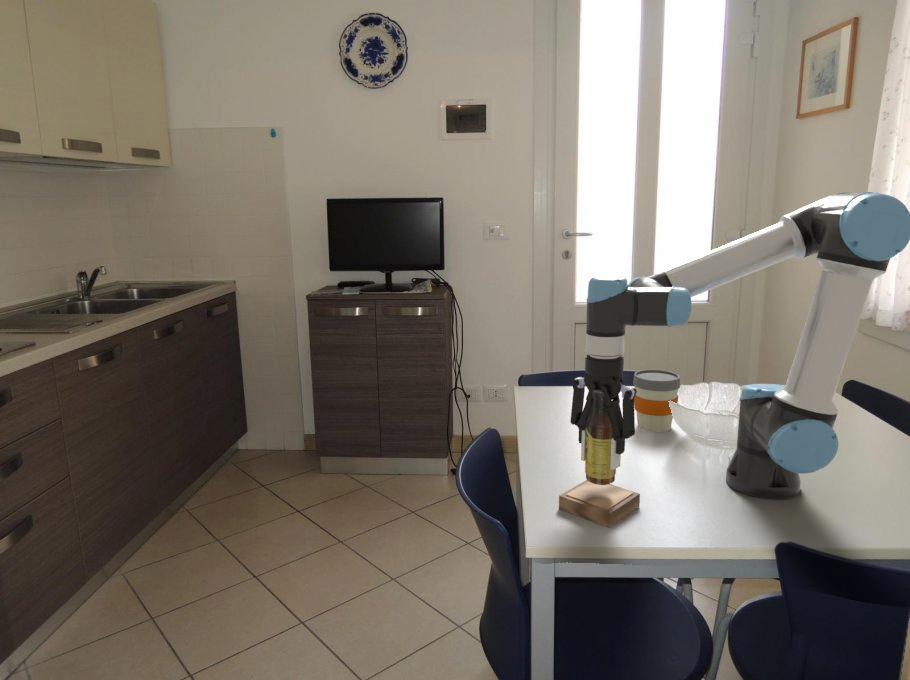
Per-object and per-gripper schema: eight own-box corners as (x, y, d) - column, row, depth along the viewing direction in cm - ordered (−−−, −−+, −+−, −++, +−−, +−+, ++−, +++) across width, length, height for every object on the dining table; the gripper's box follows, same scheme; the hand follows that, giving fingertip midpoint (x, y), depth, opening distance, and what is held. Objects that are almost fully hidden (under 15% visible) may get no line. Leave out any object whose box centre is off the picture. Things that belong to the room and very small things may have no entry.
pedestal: (639, 506, 140) (640, 492, 140) (609, 527, 132) (609, 512, 131) (590, 490, 148) (590, 476, 148) (558, 508, 140) (559, 494, 139)
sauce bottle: (593, 471, 143) (596, 382, 139) (620, 479, 139) (624, 387, 135) (578, 481, 138) (581, 389, 134) (606, 489, 134) (609, 395, 130)
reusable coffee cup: (687, 429, 185) (690, 377, 182) (652, 437, 180) (654, 383, 176) (655, 416, 196) (658, 367, 193) (621, 423, 191) (623, 372, 187)
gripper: (658, 358, 129) (652, 470, 134) (574, 344, 142) (571, 446, 147) (639, 366, 124) (633, 482, 129) (553, 350, 137) (551, 456, 142)
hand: (600, 462), depth 138 cm, fingers closed on sauce bottle, 6 cm apart
